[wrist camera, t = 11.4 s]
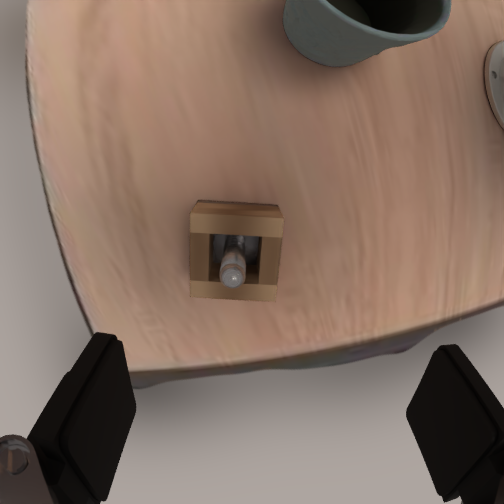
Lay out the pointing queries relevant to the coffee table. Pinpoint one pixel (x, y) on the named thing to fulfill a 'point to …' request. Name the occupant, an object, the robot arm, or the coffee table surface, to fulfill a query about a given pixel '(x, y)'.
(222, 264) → the peg stand
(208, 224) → the square wooden ring
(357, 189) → the coffee table surface
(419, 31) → the teal cup
